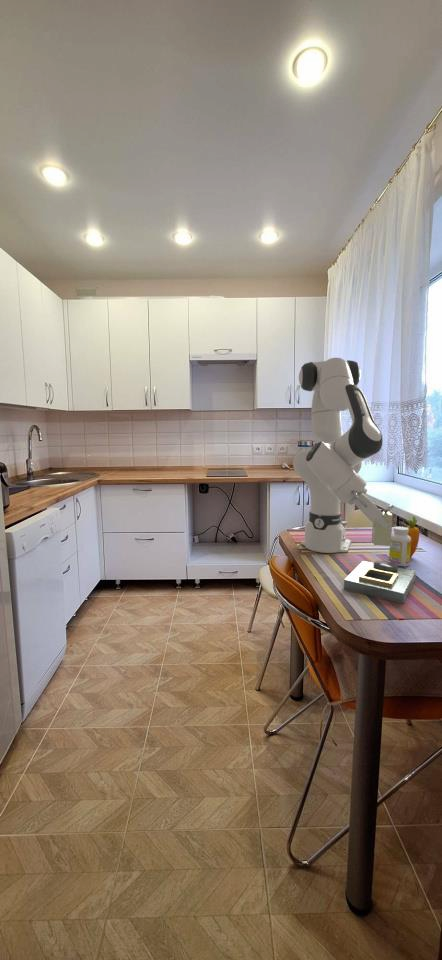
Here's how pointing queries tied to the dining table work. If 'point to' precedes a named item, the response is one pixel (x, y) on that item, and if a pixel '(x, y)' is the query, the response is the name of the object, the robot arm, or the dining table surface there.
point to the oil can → (383, 529)
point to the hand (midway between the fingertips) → (384, 523)
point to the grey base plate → (381, 580)
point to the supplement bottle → (400, 547)
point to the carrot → (413, 535)
